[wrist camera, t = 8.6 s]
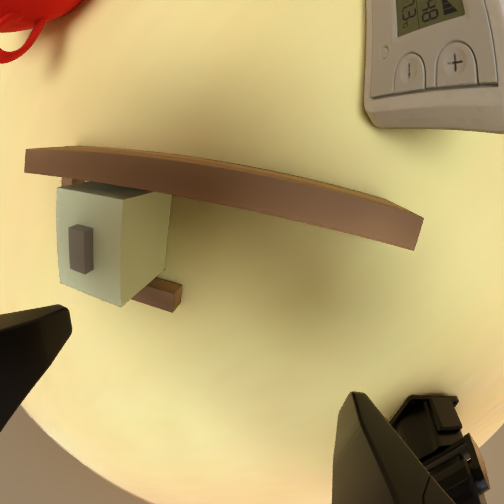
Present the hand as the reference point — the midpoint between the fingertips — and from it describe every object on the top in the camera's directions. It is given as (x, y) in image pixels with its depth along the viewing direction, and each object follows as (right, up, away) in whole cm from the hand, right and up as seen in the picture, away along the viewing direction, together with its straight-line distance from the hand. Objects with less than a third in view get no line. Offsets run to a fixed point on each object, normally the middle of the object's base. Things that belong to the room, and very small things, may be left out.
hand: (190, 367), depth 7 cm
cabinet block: (-6, +5, +12) cm, 15 cm away
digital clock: (+12, +18, +5) cm, 22 cm away
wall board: (-2, +4, +12) cm, 12 cm away
